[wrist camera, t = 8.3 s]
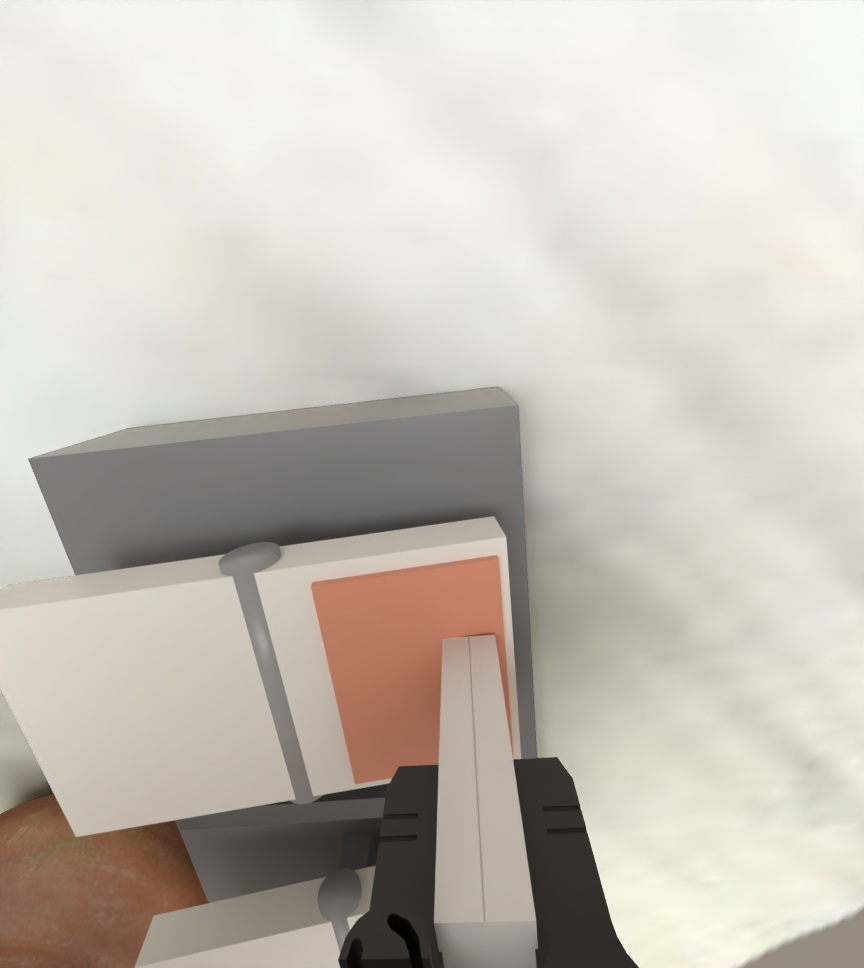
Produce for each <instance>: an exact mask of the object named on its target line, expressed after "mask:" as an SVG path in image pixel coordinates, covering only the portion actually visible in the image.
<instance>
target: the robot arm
mask: <svg viewBox="0 0 864 968" xmlns="http://www.w3.org/2000/svg"><path fill="white" fill-rule="evenodd" d="M338 962H339V965H340V968H639V967H638V966H637V965H636V964H635V962H634V961H633V960H632V959H631V958H630V957H629V955H628V954H627V953H626V951H625V949H624V948H623V946H622V944H621V943H620V941H619V939H618V938H617V935H616V932H615V930H614V927H613V924H612V922H611V918H610V914H609V911H608V907H607V903H606V900H605V896H604V892H603V889H602V885H601V881H600V877H599V874H598V870H597V866H596V863H595V859H594V855H593V852H592V848H591V844H590V841H589V837H588V833H587V831H586V826H585V822H584V819H583V815H582V811H581V809H580V804H579V800H578V796H577V793H576V789H575V785H574V782H573V779H572V777H571V776H570V774H569V773H568V772H567V770H566V769H565V768H564V766H563V765H562V763H561V762H560V761H559V759H558V758H557V757H554V758H533V759H513V756H512V749H511V742H510V735H509V728H508V721H507V714H506V707H505V700H504V693H503V686H502V679H501V672H500V665H499V658H498V652H497V645H496V638H495V635H483V636H468V637H454V638H447V639H443V641H442V674H441V707H440V740H439V765H418V766H399V767H398V769H397V771H396V773H395V774H394V776H393V778H392V780H391V782H390V784H389V785H388V787H387V790H386V797H385V804H384V811H383V820H382V825H381V832H380V842H379V846H378V853H377V860H376V867H375V874H374V881H373V888H372V895H371V902H370V909H369V911H368V912H367V913H365V914H364V915H363V916H361V917H360V918H359V919H358V920H357V921H356V923H355V924H354V926H353V927H352V928H351V930H350V931H349V933H348V934H347V936H346V937H345V940H344V943H343V946H342V949H341V952H340V955H339V958H338Z"/></svg>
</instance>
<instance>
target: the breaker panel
mask: <svg viewBox="0 0 864 968" xmlns="http://www.w3.org/2000/svg"><path fill="white" fill-rule="evenodd" d="M28 460H29V462H30V464H31V467H32V469H33V472H34V474H35V477H36V479H37V482H38V484H39V487H40V489H41V492H42V494H43V496H44V499H45V501H46V504H47V506H48V509H49V511H50V514H51V516H52V519H53V521H54V524H55V526H56V528H57V531H58V533H59V536H60V538H61V541H62V543H63V546H64V548H65V551H66V553H67V556H68V558H69V560H70V563H71V565H72V568H73V570H74V573H75V575H83V574H90V573H97V572H104V571H111V570H118V569H125V568H132V567H139V566H146V565H153V564H160V563H167V562H175V561H182V560H189V559H196V558H203V557H210V556H217V555H224V554H227V553H228V552H230V551H232V550H234V549H236V548H239V547H242V546H245V545H248V544H253V543H259V542H272V543H276V544H277V545H279V547H280V546H287V545H294V544H301V543H308V542H316V541H323V540H330V539H337V538H344V537H351V536H358V535H365V534H372V533H379V532H386V531H393V530H400V529H407V528H414V527H421V526H428V525H435V524H442V523H449V522H457V521H464V520H471V519H478V518H485V517H492V516H494V517H495V519H496V520H497V522H498V524H499V525H500V527H501V529H502V530H503V532H504V534H505V535H506V539H507V554H508V569H509V584H510V599H511V613H512V628H513V643H514V658H515V673H516V688H517V702H518V717H519V732H520V747H521V759H533V758H537V750H536V731H535V712H534V693H533V675H532V656H531V637H530V618H529V599H528V580H527V562H526V543H525V524H524V505H523V486H522V467H521V449H520V430H519V411H518V404H517V403H515V402H514V401H513V400H512V399H511V398H510V397H509V396H508V395H507V394H506V393H505V392H504V391H503V390H501V389H500V388H499V387H492V388H483V389H474V390H465V391H456V392H447V393H438V394H429V395H420V396H411V397H403V398H394V399H385V400H376V401H367V402H358V403H349V404H340V405H331V406H322V407H313V408H304V409H296V410H287V411H278V412H269V413H260V414H251V415H242V416H233V417H224V418H215V419H206V420H197V421H189V422H180V423H171V424H162V425H153V426H144V427H135V428H127V429H124V430H121V431H117V432H114V433H111V434H108V435H104V436H101V437H98V438H95V439H91V440H88V441H85V442H81V443H78V444H75V445H72V446H68V447H65V448H62V449H59V450H55V451H52V452H49V453H46V454H42V455H39V456H36V457H32V458H29V459H28ZM389 784H390V783H388V784H383V785H377V786H371V787H365V788H359V789H353V790H348V791H342V792H336V793H330V794H324V795H323V796H322V797H320V798H319V799H317V800H316V801H313V802H311V803H308V804H295V803H293V802H291V801H290V800H289V801H284V802H278V803H272V804H266V805H260V806H254V807H249V808H243V809H237V810H231V811H225V812H220V813H214V814H208V815H202V816H196V817H190V818H185V819H179V820H175V821H176V824H177V826H178V829H179V831H180V834H181V836H182V839H183V841H184V844H185V846H186V848H187V851H188V853H189V856H190V858H191V861H192V863H193V866H194V868H195V871H196V873H197V876H198V878H199V880H200V883H201V885H202V888H203V890H204V893H205V895H206V898H207V900H208V903H212V902H216V901H221V900H225V899H230V898H234V897H239V896H243V895H247V894H252V893H256V892H261V891H265V890H270V889H274V888H279V887H283V886H287V885H292V884H296V883H301V882H305V881H310V880H314V879H318V878H323V877H327V876H328V875H329V874H330V873H332V872H333V871H335V870H337V869H340V868H349V869H351V870H353V871H354V870H358V869H363V868H367V867H372V866H376V860H377V853H378V846H379V842H380V832H381V825H382V820H383V811H384V804H385V797H386V790H387V787H388V785H389Z"/></svg>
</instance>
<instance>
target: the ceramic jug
mask: <svg viewBox="0 0 864 968" xmlns="http://www.w3.org/2000/svg"><path fill="white" fill-rule="evenodd" d="M203 904H208V900H207V898H206V895H205V893H204V890H203V888H202V885H201V883H200V880H199V878H198V876H197V873H196V871H195V868H194V866H193V863H192V861H191V858H190V856H189V853H188V851H187V848H186V846H185V844H184V841H183V839H182V836H181V834H180V831H179V829H178V826H177V824H176V821H175V820H173V821H167V822H161V823H156V824H150V825H144V826H138V827H132V828H126V829H121V830H115V831H109V832H103V833H97V834H91V835H86V836H80V837H76V836H75V834H74V832H73V830H72V828H71V826H70V824H69V822H68V820H67V818H66V817H65V815H64V813H63V811H62V809H61V807H60V805H59V803H58V801H57V799H56V797H55V795H54V794H53V795H48V796H44V797H40V798H37V799H34V800H30V801H28V802H25V803H23V804H21V805H18V806H16V807H15V808H12V809H10V810H8V811H6V812H4V813H2V814H0V968H134V967H135V965H136V962H137V959H138V957H139V954H140V951H141V949H142V946H143V943H144V941H145V938H146V935H147V932H148V930H149V927H150V924H151V922H152V919H153V916H154V915H159V914H163V913H168V912H172V911H177V910H181V909H185V908H190V907H194V906H199V905H203Z"/></svg>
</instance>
